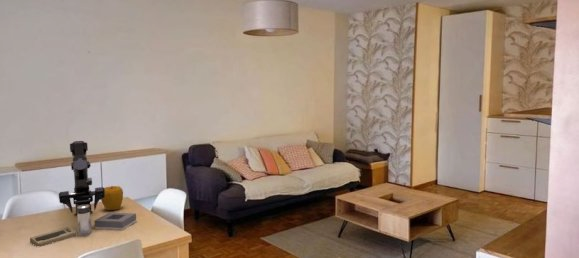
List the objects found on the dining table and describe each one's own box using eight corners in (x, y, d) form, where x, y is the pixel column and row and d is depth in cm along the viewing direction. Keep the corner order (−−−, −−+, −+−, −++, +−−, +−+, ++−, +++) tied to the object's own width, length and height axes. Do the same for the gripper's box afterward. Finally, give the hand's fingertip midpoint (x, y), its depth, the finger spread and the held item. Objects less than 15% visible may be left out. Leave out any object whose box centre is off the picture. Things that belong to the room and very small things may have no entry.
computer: (38, 248, 169) (37, 240, 169) (29, 244, 174) (29, 236, 174) (76, 236, 182) (76, 229, 181) (68, 233, 186) (67, 226, 186)
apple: (100, 213, 213) (99, 189, 212) (102, 207, 223) (101, 184, 222) (123, 211, 217) (122, 187, 215) (124, 205, 227) (123, 182, 225)
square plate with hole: (94, 228, 190) (94, 220, 190) (109, 220, 202) (109, 212, 201) (122, 230, 188) (122, 221, 187) (136, 221, 200) (135, 213, 199)
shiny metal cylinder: (76, 236, 181) (73, 207, 180) (83, 232, 186) (81, 204, 185) (86, 236, 180) (84, 208, 179) (94, 232, 185) (92, 204, 184)
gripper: (57, 174, 183) (58, 204, 175) (103, 170, 192) (106, 198, 183) (59, 188, 191) (60, 217, 182) (103, 183, 200) (106, 211, 191)
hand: (83, 210), depth 185 cm, fingers open, 9 cm apart
